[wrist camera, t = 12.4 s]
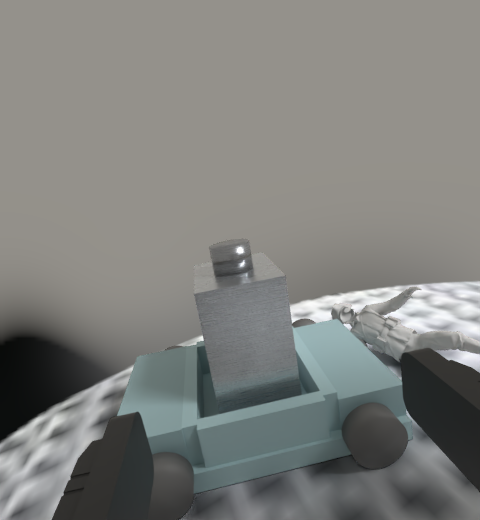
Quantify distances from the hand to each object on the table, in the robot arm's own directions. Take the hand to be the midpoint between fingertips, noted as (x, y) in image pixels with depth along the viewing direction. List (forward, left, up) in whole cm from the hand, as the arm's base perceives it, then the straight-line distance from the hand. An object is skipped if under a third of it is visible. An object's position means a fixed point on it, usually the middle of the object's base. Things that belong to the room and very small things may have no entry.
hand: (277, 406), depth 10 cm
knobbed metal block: (0, -11, -8) cm, 13 cm away
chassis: (0, -11, -9) cm, 14 cm away
